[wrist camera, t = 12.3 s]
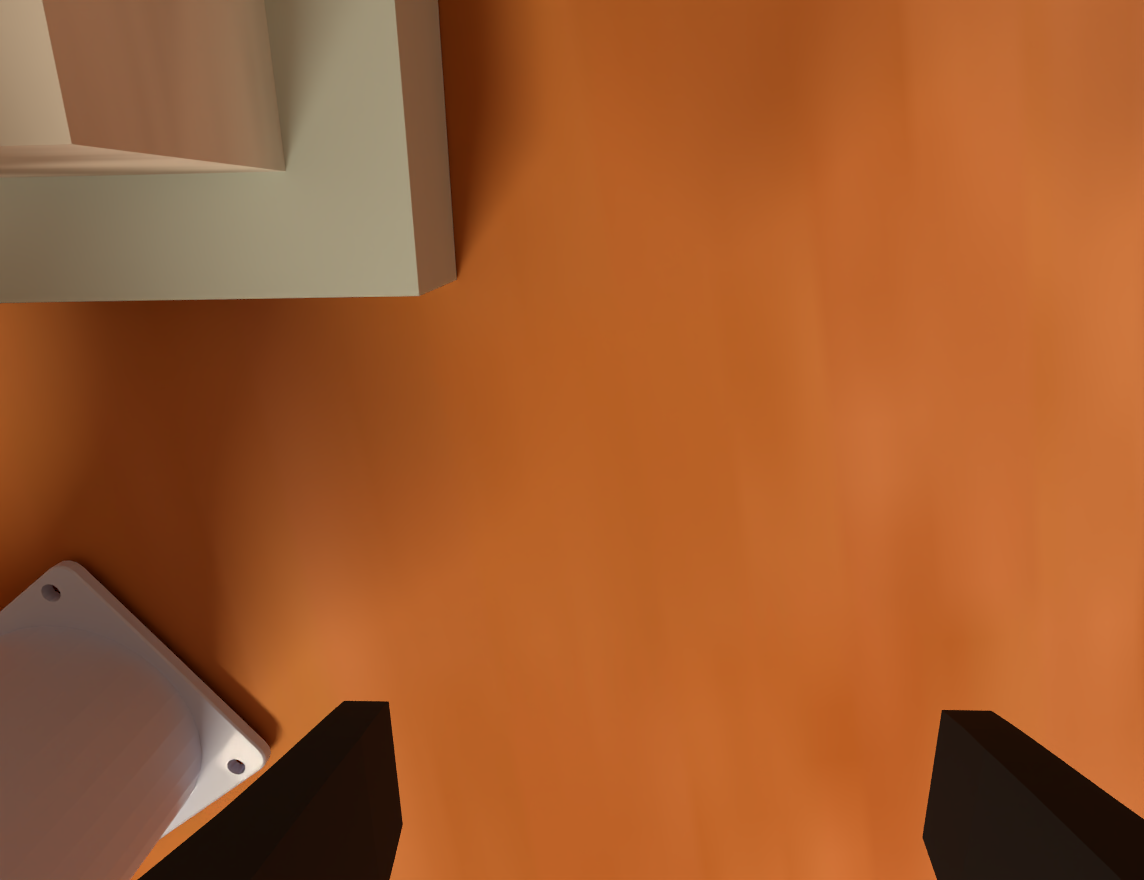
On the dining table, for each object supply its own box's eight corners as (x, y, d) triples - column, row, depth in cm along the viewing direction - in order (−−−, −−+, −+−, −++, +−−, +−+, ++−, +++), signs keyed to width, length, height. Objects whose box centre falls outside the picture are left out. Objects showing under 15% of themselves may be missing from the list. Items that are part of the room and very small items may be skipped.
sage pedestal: (49, 286, 18) (-81, 304, 14) (-67, -217, 15) (-267, -343, 11) (456, 279, 17) (419, 295, 14) (421, -245, 14) (362, -387, 11)
